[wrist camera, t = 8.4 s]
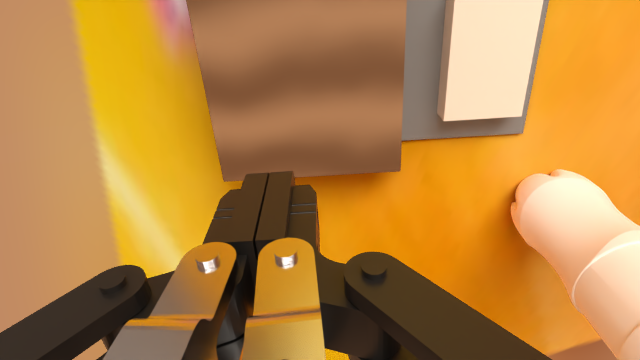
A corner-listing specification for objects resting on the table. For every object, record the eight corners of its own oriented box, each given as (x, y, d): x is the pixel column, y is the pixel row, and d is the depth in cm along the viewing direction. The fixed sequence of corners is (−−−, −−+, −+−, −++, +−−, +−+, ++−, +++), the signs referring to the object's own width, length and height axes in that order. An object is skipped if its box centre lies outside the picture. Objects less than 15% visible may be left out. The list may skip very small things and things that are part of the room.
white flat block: (545, -13, 26) (531, -14, 28) (455, -6, 26) (446, -8, 28) (521, 116, 30) (510, 108, 32) (443, 121, 30) (437, 112, 32)
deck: (194, -49, 27) (175, -52, 23) (397, -65, 27) (409, -70, 23) (233, 159, 35) (224, 181, 31) (391, 150, 34) (400, 171, 31)
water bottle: (590, 204, 37) (988, 552, 15) (516, 238, 39) (775, 590, 17) (568, 146, 34) (1022, 469, 12) (490, 185, 36) (760, 527, 14)
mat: (397, -65, 27) (398, -65, 26) (561, -77, 26) (563, -78, 26) (392, 139, 34) (392, 141, 33) (521, 131, 33) (522, 133, 33)
